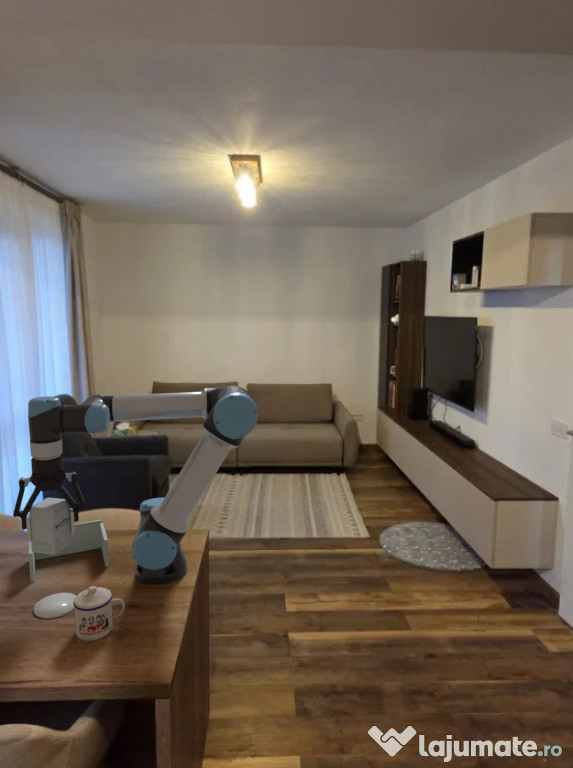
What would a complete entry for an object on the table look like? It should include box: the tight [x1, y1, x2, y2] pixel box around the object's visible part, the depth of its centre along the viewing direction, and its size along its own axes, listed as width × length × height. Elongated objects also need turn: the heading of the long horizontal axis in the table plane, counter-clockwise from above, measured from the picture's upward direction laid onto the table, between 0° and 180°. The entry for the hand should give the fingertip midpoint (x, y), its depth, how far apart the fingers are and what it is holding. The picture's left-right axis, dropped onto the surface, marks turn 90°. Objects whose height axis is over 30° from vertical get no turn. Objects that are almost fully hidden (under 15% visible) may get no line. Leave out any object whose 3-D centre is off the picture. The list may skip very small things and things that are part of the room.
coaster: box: [33, 592, 77, 619], centre depth 136 cm, size 11×11×1 cm
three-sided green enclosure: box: [28, 519, 110, 583], centre depth 158 cm, size 15×22×10 cm
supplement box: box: [28, 497, 72, 555], centre depth 133 cm, size 7×7×13 cm
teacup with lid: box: [73, 585, 126, 642], centre depth 126 cm, size 12×9×12 cm
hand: (51, 536), depth 134 cm, fingers closed on supplement box, 10 cm apart
